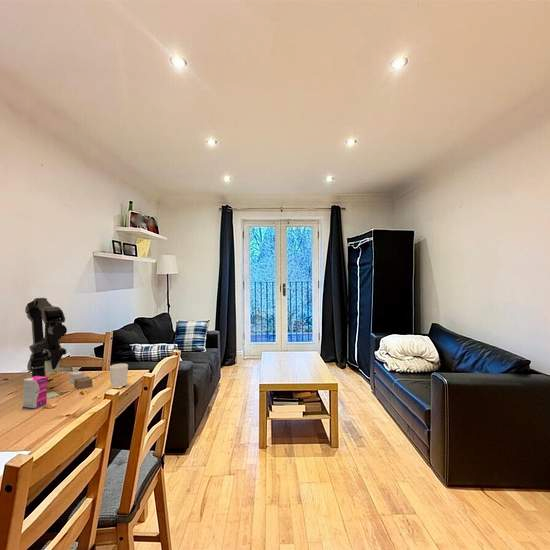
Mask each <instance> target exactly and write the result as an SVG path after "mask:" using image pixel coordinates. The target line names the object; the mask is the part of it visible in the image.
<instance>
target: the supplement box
mask: <svg viewBox="0 0 550 550" xmlns="http://www.w3.org/2000/svg"><path fill="white" fill-rule="evenodd" d="M47 379H48V376H46V377H42V376H34V377H32V376H31V377H28V378H24V379H23V386H22V387H23V388H22V389H23V390H22V391H23V392H22V394H23V395H22V409H25V408H27V409H28V410H36V409H37V408H40V407H43V406H45V405H47V401H48V399H47V393H48V381H47Z"/></svg>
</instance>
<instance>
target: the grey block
mask: <svg viewBox="0 0 550 550" xmlns="http://www.w3.org/2000/svg"><path fill="white" fill-rule="evenodd" d="M82 377H85V372H83V371H73V372H71V373H69V383H70V384H74V379H77V378H82Z"/></svg>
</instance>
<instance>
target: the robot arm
mask: <svg viewBox="0 0 550 550" xmlns="http://www.w3.org/2000/svg"><path fill="white" fill-rule="evenodd" d="M24 309H25V311H24V312H25V314H26V317H27V319H28V320H29V321H30V322H31V335H32V344H31V345H30V346H28V347H29V350H30V352H31V353H30V355H29V360H28V362H27V366H26V368H27V371H29V372H31V377H34V376H42V377H47V376H46V373H47V372H46V371H45V361H49V360H51V365H52V369H55V368H56V366H57V364H58V363H59V364H60V360H61V359H62V357H63V356H64V355H67V349H66V348H64V347H62V346H61V344H60V340H62V337H63V336H65V335H66V334H67V332H68V328H67V327H66V326H65V325H64V324H63V323H65V322H66V317H65V314H64V312H63V309H61V308H60V307H59V306H53V305H52V304H51V303H50V302H49V301H48V298H46V297H35V298H34V299H33V300H32V301H30V302H28V303H27V304H26V306H25V308H24ZM43 323H44V324H43ZM43 325H44V326H43ZM47 380H48V381H49V379H48V378H47Z"/></svg>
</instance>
